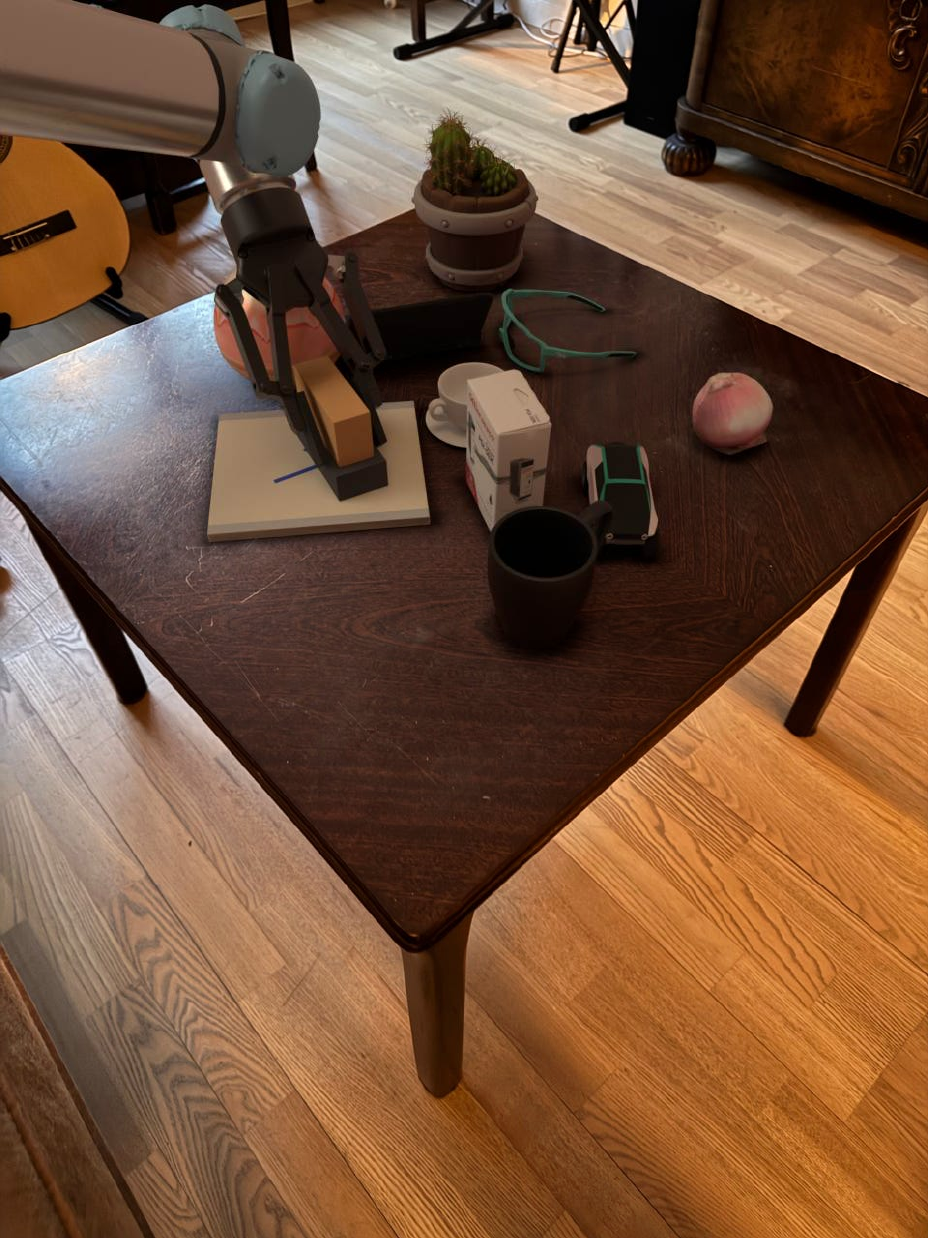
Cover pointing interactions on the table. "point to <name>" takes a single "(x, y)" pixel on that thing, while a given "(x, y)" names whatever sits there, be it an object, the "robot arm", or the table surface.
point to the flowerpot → (472, 210)
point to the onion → (732, 413)
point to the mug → (544, 569)
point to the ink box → (505, 444)
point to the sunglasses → (545, 349)
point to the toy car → (623, 494)
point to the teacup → (454, 402)
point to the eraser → (341, 430)
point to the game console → (430, 325)
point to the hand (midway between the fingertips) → (351, 454)
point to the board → (308, 480)
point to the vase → (301, 329)
